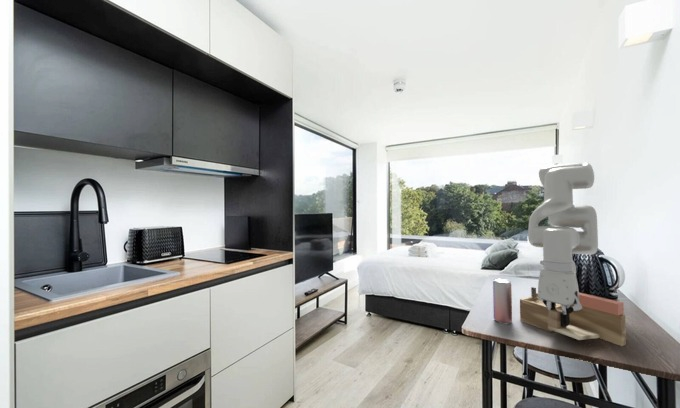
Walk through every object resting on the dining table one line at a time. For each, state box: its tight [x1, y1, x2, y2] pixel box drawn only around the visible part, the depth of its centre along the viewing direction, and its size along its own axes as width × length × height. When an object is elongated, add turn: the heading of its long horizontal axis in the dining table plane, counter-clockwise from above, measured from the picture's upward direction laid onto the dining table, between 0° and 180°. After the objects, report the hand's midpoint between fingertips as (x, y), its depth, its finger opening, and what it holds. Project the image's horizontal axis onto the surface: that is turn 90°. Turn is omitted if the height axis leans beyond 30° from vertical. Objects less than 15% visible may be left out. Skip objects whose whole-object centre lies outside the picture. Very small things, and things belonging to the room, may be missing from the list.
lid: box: [548, 310, 600, 341], centre depth 90 cm, size 11×9×6 cm
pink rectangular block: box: [579, 291, 625, 316], centre depth 94 cm, size 3×14×4 cm, turn 23°
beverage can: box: [492, 278, 513, 325], centre depth 107 cm, size 6×6×15 cm
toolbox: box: [519, 286, 627, 347], centre depth 98 cm, size 13×26×12 cm, turn 23°
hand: (559, 323), depth 92 cm, fingers closed on lid, 2 cm apart
